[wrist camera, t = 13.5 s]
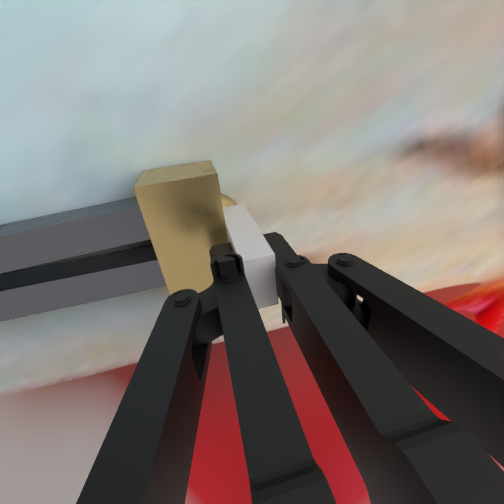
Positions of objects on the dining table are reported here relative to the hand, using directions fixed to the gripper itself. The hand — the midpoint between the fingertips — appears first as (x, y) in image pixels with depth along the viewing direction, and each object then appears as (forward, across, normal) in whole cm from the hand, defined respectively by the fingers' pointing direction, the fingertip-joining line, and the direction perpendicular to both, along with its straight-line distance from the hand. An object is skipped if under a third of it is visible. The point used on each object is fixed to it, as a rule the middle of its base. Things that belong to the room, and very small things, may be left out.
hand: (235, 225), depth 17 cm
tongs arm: (+2, -13, +1) cm, 13 cm away
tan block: (+2, -3, 0) cm, 3 cm away
